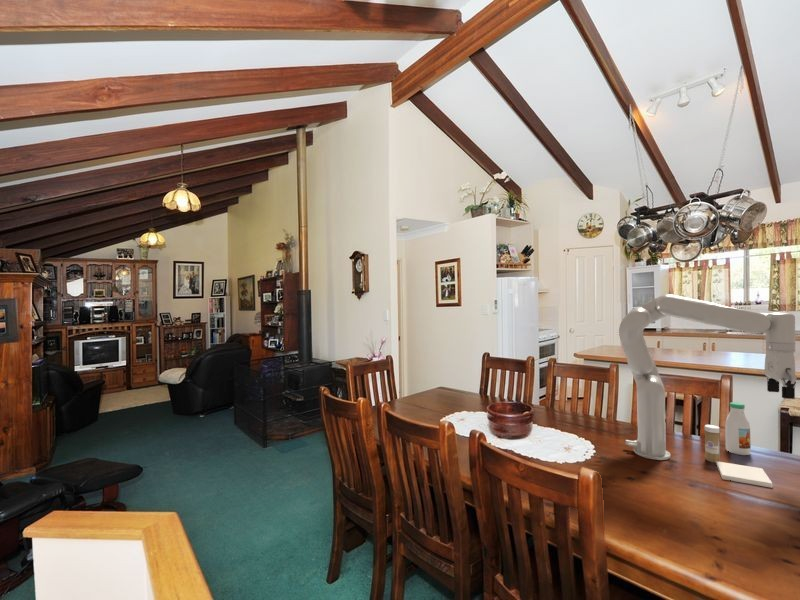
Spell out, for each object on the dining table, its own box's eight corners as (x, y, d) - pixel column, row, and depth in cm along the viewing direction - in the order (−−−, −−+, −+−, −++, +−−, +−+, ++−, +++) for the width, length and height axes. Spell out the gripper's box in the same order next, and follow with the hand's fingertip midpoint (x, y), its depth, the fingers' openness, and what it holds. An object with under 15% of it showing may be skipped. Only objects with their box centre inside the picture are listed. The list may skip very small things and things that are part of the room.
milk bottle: (730, 454, 156) (729, 405, 156) (722, 447, 163) (721, 400, 163) (754, 456, 153) (753, 406, 153) (745, 449, 160) (744, 401, 160)
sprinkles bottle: (705, 461, 150) (704, 426, 150) (705, 457, 154) (704, 423, 154) (720, 464, 148) (719, 428, 147) (720, 460, 151) (719, 425, 151)
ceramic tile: (722, 479, 136) (722, 474, 136) (716, 465, 147) (716, 461, 147) (772, 487, 129) (772, 483, 129) (762, 472, 140) (762, 468, 140)
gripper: (755, 344, 147) (755, 388, 147) (779, 350, 131) (780, 400, 131) (780, 344, 144) (780, 390, 145) (809, 350, 128) (809, 402, 129)
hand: (780, 395), depth 138 cm, fingers open, 9 cm apart
